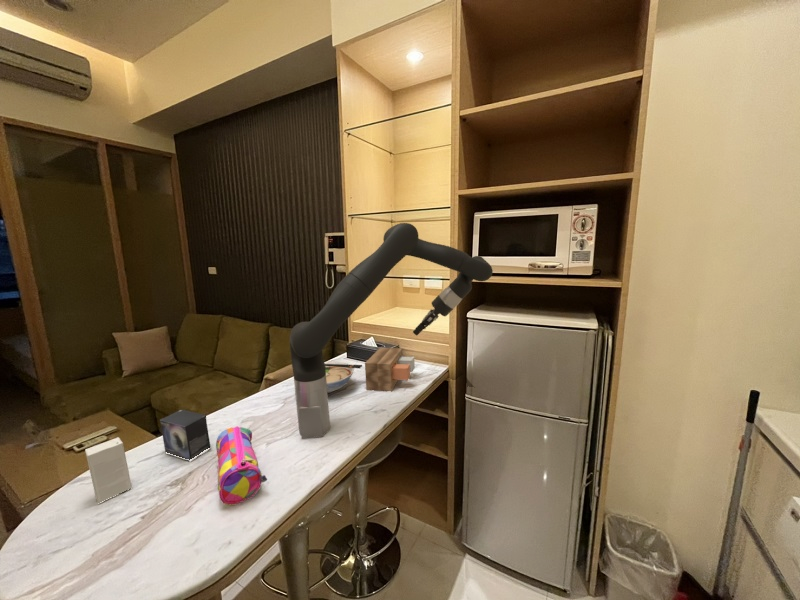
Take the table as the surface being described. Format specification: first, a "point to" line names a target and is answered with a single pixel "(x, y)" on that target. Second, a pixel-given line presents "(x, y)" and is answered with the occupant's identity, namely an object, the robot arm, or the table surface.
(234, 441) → the pencil case
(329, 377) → the ramen bowl
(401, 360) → the grey key
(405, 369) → the salmon key
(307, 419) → the robot arm
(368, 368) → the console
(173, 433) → the small box
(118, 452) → the skincare box
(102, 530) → the table surface
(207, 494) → the table surface
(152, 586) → the table surface
